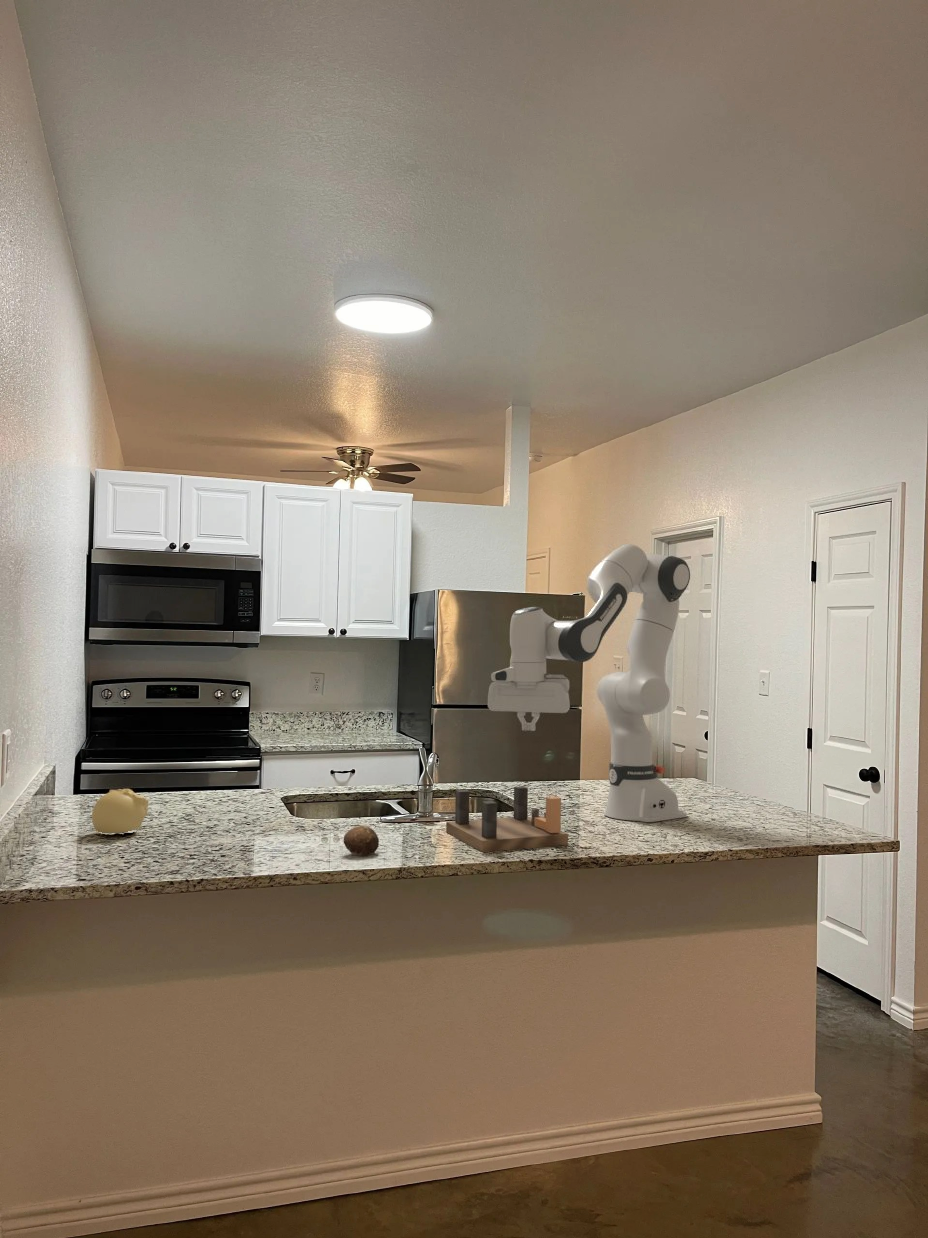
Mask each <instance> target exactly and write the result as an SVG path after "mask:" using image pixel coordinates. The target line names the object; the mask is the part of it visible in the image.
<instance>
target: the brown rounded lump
mask: <svg viewBox="0 0 928 1238" xmlns="http://www.w3.org/2000/svg"><path fill="white" fill-rule="evenodd" d="M342 842H343V844H344V846H345V848H346V849H347V850H348V851H349V852H350V853H352V854H353V855H355V856H360V857H365V856H369V855H372V854H374V853H375V852H376V851H377V850H378V848H379V846H380V845H379V844H380V843H379V842H380V839H379V836H378V834H377V833H376V832H375V830H374V829H372V828H371V827H370V826H366V825H359V826H355V827H352V828H351V829H349V830H348V831H346V833H345V834H344V835H343V841H342Z"/></svg>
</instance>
